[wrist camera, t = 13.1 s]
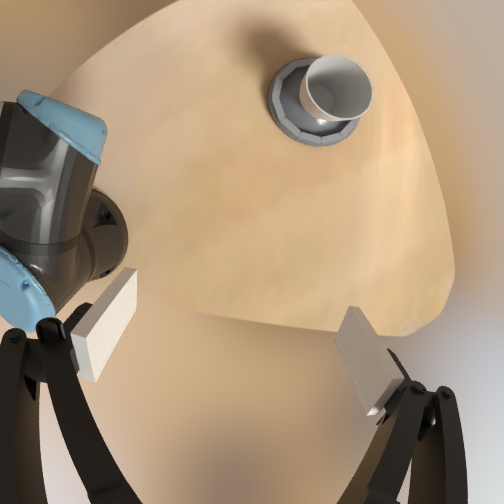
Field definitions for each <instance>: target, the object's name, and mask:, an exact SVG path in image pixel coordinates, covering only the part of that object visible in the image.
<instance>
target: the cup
mask: <svg viewBox="0 0 504 504" xmlns="http://www.w3.org/2000/svg"><path fill="white" fill-rule="evenodd" d="M299 97H300V102H301V104H302V106H303V108H304V109H305V110H306V112H307V113H309V114H310V115H311V116H313V117H315V118H317V119H321V120H327V121H343V120H352V119H356V118H358V117H360V116H362V115H363V114H365V113H366V112H367V111H368V109H369V108H370V106H371V104H372V101H373V85H372V82H371V79H370V77H369V76H368V74H367V72H366V71H365V70H364V69H363V68H362V66H360V65H359V64H358V63H357V62H355V61H354V60H352V59H350V58H348V57H345V56H342V55H326V56H322V57H320V58H318V59H317V60H315V61H314V62H313V63H312V64H311V66H310V67H309V69H308V71H307V72H306V74H305V76H304V77H303V79H302V82H301V87H300V93H299Z"/></svg>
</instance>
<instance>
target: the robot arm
mask: <svg viewBox="0 0 504 504" xmlns="http://www.w3.org/2000/svg"><path fill="white" fill-rule="evenodd" d="M106 137H107V127H106V124H105V122H104V121H103V120H102V119H101V118H99V117H97V116H94V115H92V114H89V113H87V112H85V111H82V110H80V109H77V108H75V107H72V106H69V105H67V104H64V103H62V102H59V101H57V100H54V99H51V98H49V97H46V96H43V95H40V94H37V93H34V92H32V91H29V90H23V91H22V92H21V93H20V95H19V96H18V97H17V103H14V102H5V101H2V102H0V315H1V316H2V317H3V318H4V319H5V320H6V321H7V322H8V323H9V324H11V325H12V326H14V327H15V328H12V329H9V330H8V331H6V332H5V333H4V335H3V338H2V341H1V344H0V504H48V502H47V497H46V492H45V486H44V479H43V472H42V463H41V452H40V436H39V396H40V382H44V383H47V384H48V389H49V393H50V397H51V400H52V404H53V407H54V411H55V414H56V417H57V420H58V424H59V426H60V430H61V432H62V435H63V438H64V440H65V443H66V446H67V449H68V451H69V454H70V456H71V458H72V461H73V463H74V465H75V467H76V470H77V472H78V474H79V476H80V478H81V480H82V482H83V484H84V486H85V488H86V491H87V494H88V498H89V500H90V502H91V504H142V502H141V501H140V500H139V498H138V497H137V495H136V494H135V492H134V491H133V489H132V488H131V486H130V485H129V484H128V482H127V481H126V479H125V478H124V476H123V474H122V473H121V471H120V469H119V468H118V466H117V464H116V463H115V461H114V459H113V457H112V455H111V453H110V451H109V449H108V447H107V446H106V444H105V442H104V440H103V438H102V436H101V434H100V432H99V429H98V427H97V425H96V423H95V420H94V418H93V416H92V414H91V411H90V409H89V407H88V404H87V402H86V399H85V397H84V394H83V391H82V389H81V386H80V383H79V380H78V377H77V373H78V371H80V374H81V377H82V378H84V379H86V380H89V381H92V382H96V381H97V379H98V377H99V375H100V373H101V371H102V369H103V367H104V365H105V364H106V362H107V360H108V358H109V356H110V354H111V353H112V351H113V349H114V347H115V345H116V343H117V342H118V340H119V338H120V336H121V334H122V333H123V331H124V329H125V327H126V326H127V324H128V322H129V320H130V319H131V317H132V315H133V314H134V312H135V310H136V293H137V270H136V269H132V268H127V267H125V268H124V269H123V270H122V271H121V273H120V274H119V275H118V276H117V277H116V278H115V279H114V281H113V282H112V283H111V284H110V285H109V286H108V287H107V289H106V290H105V291H104V292H103V293H102V295H101V296H100V297H99V298H98V299H97V300H96V302H95V303H94V304H90V303H86V302H85V303H84V304H82V305H80V306H78V307H77V308H76V309H75V310H74V312H73V313H72V314H71V315H70V317H69V318H68V319H67V320H66V321H65V322H64V323H63V324H62V322H61V321H60V320H59V319H57V318H55V315H56V314H57V313H58V312H59V311H60V310H61V309H62V307H64V306H65V304H66V303H67V302H68V301H69V300H70V299H71V298H72V297H73V296H74V295H75V294H76V293H77V292H78V291H79V290H80V288H82V287H83V286H84V285H85V284H86V283H87V282H89V281H93V280H97V279H100V278H103V277H105V276H107V275H109V274H110V273H112V272H113V271H114V270H115V269H116V268H117V267H118V266H119V265H120V263H121V262H122V260H123V259H124V257H125V254H126V251H127V246H128V231H127V226H126V223H125V220H124V217H123V215H122V213H121V212H120V210H119V208H118V207H117V206H116V204H115V203H114V202H113V201H112V200H111V199H110V198H108V197H107V196H105V195H104V194H102V193H100V192H97V191H92V186H93V182H94V179H95V176H96V172H97V169H98V166H99V165H100V164H101V160H100V158H101V154H102V151H103V147H104V144H105V141H106ZM25 332H28V333H32V332H36V333H37V336H38V339H30V338H27V336H26V333H25ZM335 342H336V345H337V347H338V349H339V351H340V354H341V356H342V358H343V361H344V363H345V365H346V367H347V370H348V372H349V374H350V377H351V379H352V381H353V384H354V386H355V389H356V391H357V393H358V396H359V398H360V400H361V403H362V405H363V408H364V410H365V413H366V415H374V414H379V412H380V411H381V410H382V409H383V407H384V408H385V409H386V413H385V414H384V415H383V417H382V418H381V419H380V420H379V421H378V423H377V424H376V425H378V424H379V423H380V424H379V427H378V429H377V431H376V433H375V435H374V437H373V440H372V442H371V444H370V446H369V448H368V450H367V452H366V454H365V456H364V458H363V460H362V462H361V464H360V465H359V467H358V469H357V471H356V473H355V474H354V476H353V478H352V480H351V481H350V483H349V485H348V486H347V488H346V490H345V491H344V493H343V494H342V496H341V498H340V499H339V501H338V502H337V504H400V502H397V500H396V499H397V496H398V494H399V491H400V489H401V486H402V484H403V481H404V478H405V476H406V473H407V470H408V466H409V464H410V460H411V458H412V463H411V477H410V489H409V497H408V504H468V488H467V469H466V459H465V449H464V442H463V435H462V428H461V423H460V418H459V412H458V407H457V402H456V398H455V394H454V393H453V391H452V390H451V389H450V388H448V387H446V386H440V387H439V388H438V389H437V391H436V392H429V391H427V390H426V388H425V387H424V386H423V384H421V383H420V382H417V381H412V380H411V379H410V377H409V375H408V374H407V372H406V371H405V369H404V367H403V366H402V364H401V363H400V361H399V360H398V358H397V356H396V355H395V354H394V353H393V352H392V351H391V350H390V349H388V348H386V347H385V346H384V344H383V342H382V341H381V339H380V338H379V336H378V335H377V333H376V332H375V330H374V329H373V327H372V326H371V324H370V323H369V321H368V320H367V318H366V317H365V315H364V314H363V312H362V311H361V309H360V308H359V307H353V306H349V308H348V310H347V312H346V315H345V317H344V319H343V322H342V324H341V326H340V329H339V331H338V333H337V335H336V338H335ZM434 423H435V425H434Z"/></svg>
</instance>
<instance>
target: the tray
mask: <svg viewBox="0 0 504 504" xmlns="http://www.w3.org/2000/svg"><path fill="white" fill-rule="evenodd" d="M317 59H318V58H303V59H298V60H295V61H292V62H290V63H288V64H287V65H285V66H284V67H282V68H281V69H280V70H279V71H278V72H277V74H276V75H275V77H274V78H273V80H272V82H271V85H270V88H269V93H268V105H269V109H270V113H271V115H272V118H273V119H274V121H275V123H276V124H277V126H278V127H279V128H280V129H281V130H282V131H283V132H284V133H285V134H286V135H287V136H288V137H290V138H292V139H293V140H295V141H297V142H299V143H302V144H305V145H309V146H328V145H333V144H336V143H338V142H340V141H342V140H344V139H345V138H347V137H348V136H349V135H350V134H351V133H352V132H353V131H354V129H355V127H356V126H357V124H358V121H359V118H360V117H358V118H356V119H352V120H343V121H327V120H321V119H317V118H315V117H313V116H311V115H310V114H309V113H307V112H306V110H305V109H304V108H303V106H302V104H301V102H300V97H299V93H300V87H301V82H302V79H303V77H304V76H305V74H306V72H307V71H308V69H309V67H310V66H311V64H312V63H313V62H314V61H315V60H317Z"/></svg>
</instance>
